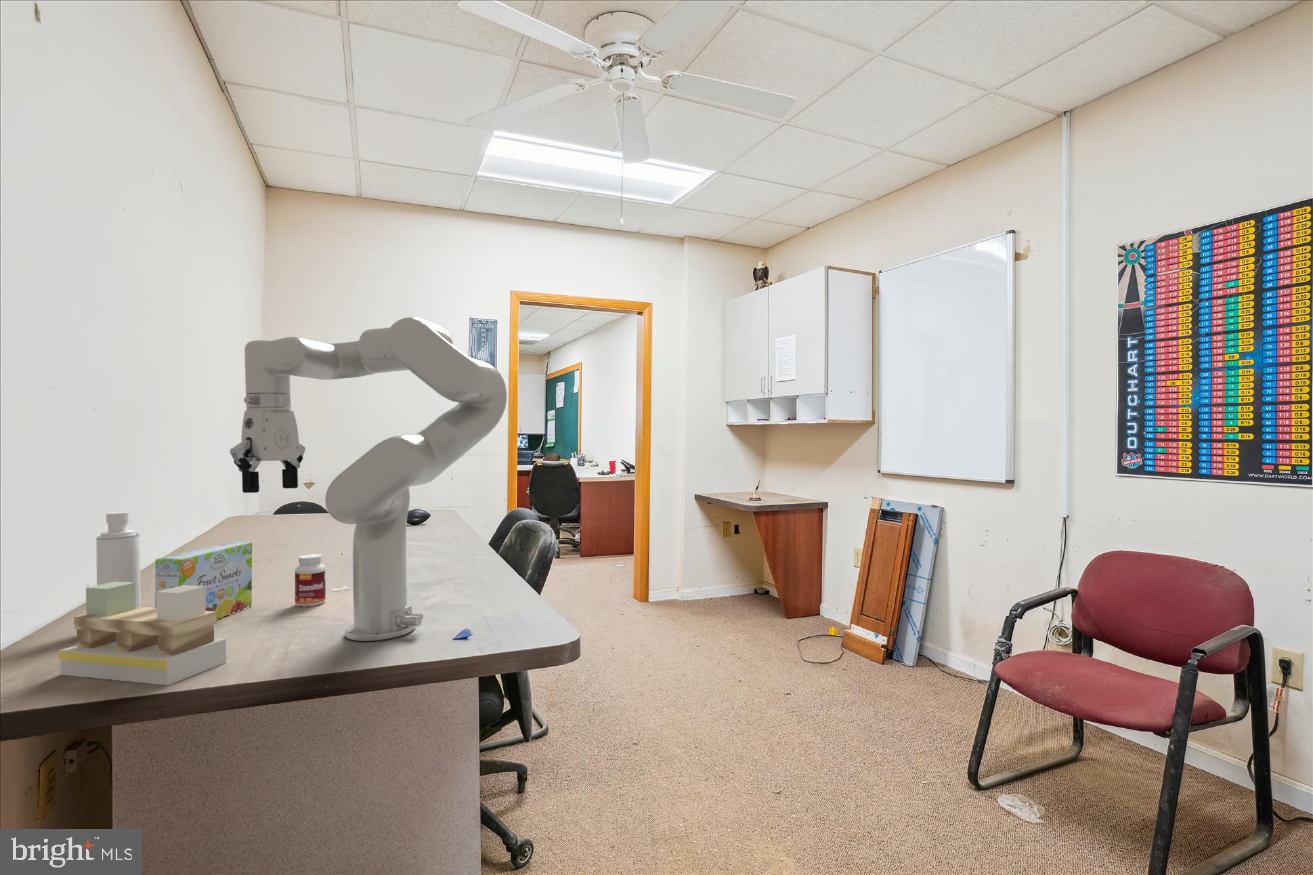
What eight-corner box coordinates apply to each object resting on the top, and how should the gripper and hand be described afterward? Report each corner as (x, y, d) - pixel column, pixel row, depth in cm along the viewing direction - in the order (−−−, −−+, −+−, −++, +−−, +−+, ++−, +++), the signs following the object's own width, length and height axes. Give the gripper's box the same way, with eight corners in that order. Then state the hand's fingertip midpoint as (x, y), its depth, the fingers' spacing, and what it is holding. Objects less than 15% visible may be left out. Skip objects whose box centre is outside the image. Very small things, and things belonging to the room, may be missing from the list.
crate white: (205, 613, 104) (205, 586, 104) (179, 621, 100) (178, 592, 100) (183, 612, 105) (183, 585, 105) (156, 619, 101) (156, 591, 101)
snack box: (181, 636, 122) (180, 558, 122) (153, 636, 122) (152, 558, 122) (254, 606, 143) (253, 540, 143) (229, 606, 143) (228, 540, 143)
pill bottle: (296, 609, 140) (295, 559, 140) (293, 603, 145) (292, 555, 145) (327, 604, 143) (327, 556, 143) (323, 599, 148) (323, 552, 148)
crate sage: (135, 608, 108) (135, 582, 108) (107, 616, 103) (106, 588, 103) (115, 607, 109) (114, 581, 109) (86, 614, 104) (85, 587, 104)
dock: (226, 662, 106) (225, 638, 106) (165, 686, 96) (165, 660, 96) (125, 653, 112) (125, 631, 112) (58, 675, 102) (58, 650, 102)
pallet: (216, 641, 105) (216, 611, 105) (175, 655, 98) (175, 623, 98) (119, 633, 110) (119, 605, 110) (74, 647, 103) (74, 616, 103)
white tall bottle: (90, 630, 126) (88, 505, 126) (129, 621, 132) (127, 502, 132) (109, 634, 123) (107, 507, 123) (148, 624, 129) (146, 503, 129)
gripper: (248, 401, 115) (251, 494, 115) (317, 405, 132) (319, 486, 132) (213, 402, 117) (216, 494, 117) (286, 406, 134) (288, 486, 134)
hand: (271, 490), depth 124 cm, fingers open, 9 cm apart
